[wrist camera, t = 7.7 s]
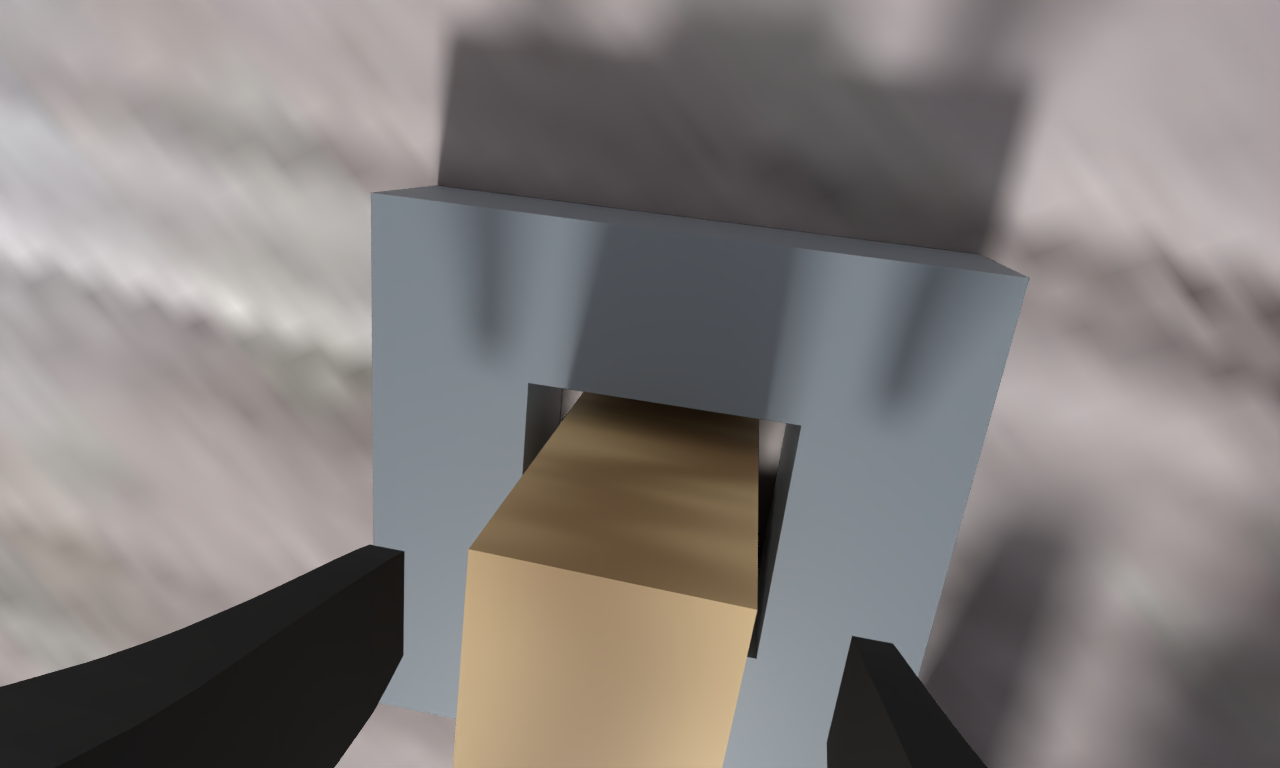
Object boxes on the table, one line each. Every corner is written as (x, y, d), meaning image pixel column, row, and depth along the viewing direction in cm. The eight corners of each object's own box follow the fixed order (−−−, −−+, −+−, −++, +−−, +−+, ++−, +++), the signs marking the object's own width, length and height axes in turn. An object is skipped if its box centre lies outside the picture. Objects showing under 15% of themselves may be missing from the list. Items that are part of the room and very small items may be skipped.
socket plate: (980, 254, 15) (1029, 277, 13) (863, 712, 19) (880, 809, 16) (436, 185, 17) (371, 192, 14) (427, 626, 21) (374, 702, 18)
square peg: (758, 409, 17) (757, 609, 10) (728, 556, 19) (706, 834, 11) (592, 379, 18) (468, 549, 10) (575, 525, 19) (452, 772, 11)
